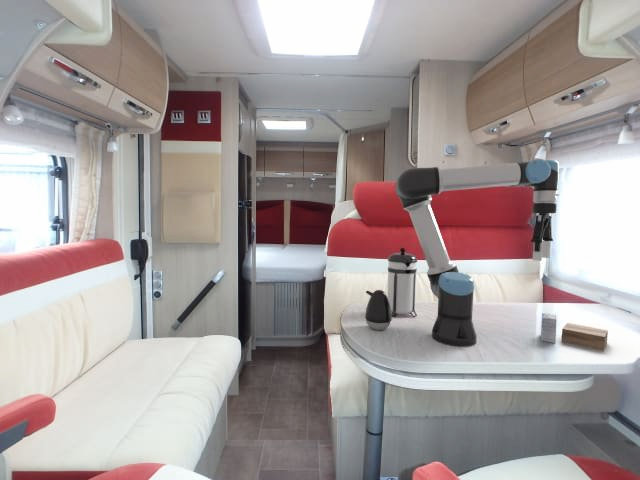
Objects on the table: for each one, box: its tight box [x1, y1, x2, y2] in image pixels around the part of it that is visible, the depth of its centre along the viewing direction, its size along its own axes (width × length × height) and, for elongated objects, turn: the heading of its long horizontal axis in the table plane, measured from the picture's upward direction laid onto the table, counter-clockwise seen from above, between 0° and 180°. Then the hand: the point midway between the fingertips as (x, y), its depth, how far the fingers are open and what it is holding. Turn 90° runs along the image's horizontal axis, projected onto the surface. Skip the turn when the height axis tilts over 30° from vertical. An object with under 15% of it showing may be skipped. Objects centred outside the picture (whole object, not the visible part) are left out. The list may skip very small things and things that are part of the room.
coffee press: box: [387, 247, 418, 318], centre depth 160 cm, size 17×16×30 cm
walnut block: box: [561, 322, 609, 351], centre depth 127 cm, size 10×12×5 cm
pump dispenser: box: [364, 289, 393, 331], centre depth 139 cm, size 10×10×15 cm
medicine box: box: [540, 312, 557, 344], centre depth 130 cm, size 8×4×9 cm, turn 148°
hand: (541, 259), depth 135 cm, fingers open, 13 cm apart
